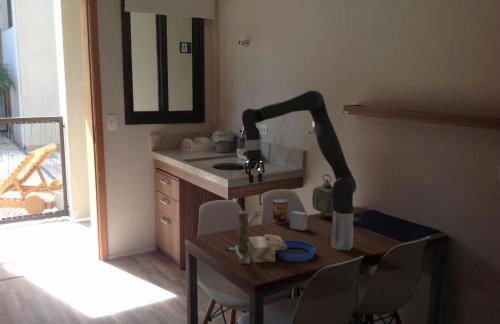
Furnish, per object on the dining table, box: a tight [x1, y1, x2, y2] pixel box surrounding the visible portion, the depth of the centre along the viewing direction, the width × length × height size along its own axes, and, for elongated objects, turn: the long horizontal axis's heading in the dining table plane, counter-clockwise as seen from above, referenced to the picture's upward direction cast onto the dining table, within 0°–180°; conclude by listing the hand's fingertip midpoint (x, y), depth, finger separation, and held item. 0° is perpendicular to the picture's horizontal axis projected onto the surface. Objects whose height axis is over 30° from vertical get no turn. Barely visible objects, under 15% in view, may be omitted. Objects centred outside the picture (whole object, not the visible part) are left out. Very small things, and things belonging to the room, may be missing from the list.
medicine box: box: [289, 210, 308, 231], centre depth 235 cm, size 8×4×9 cm, turn 58°
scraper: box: [234, 210, 251, 265], centre depth 193 cm, size 4×15×20 cm, turn 11°
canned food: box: [272, 198, 289, 225], centre depth 247 cm, size 8×8×12 cm
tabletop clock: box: [311, 174, 333, 219], centre depth 255 cm, size 14×9×25 cm, turn 32°
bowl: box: [275, 240, 316, 262], centre depth 199 cm, size 18×18×4 cm
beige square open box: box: [247, 235, 287, 263], centre depth 196 cm, size 14×14×6 cm
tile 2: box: [269, 237, 280, 242], centre depth 196 cm, size 4×4×1 cm
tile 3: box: [263, 233, 276, 240], centre depth 200 cm, size 4×4×1 cm
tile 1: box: [269, 241, 280, 246], centre depth 192 cm, size 4×4×1 cm
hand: (256, 182), depth 219 cm, fingers open, 8 cm apart
